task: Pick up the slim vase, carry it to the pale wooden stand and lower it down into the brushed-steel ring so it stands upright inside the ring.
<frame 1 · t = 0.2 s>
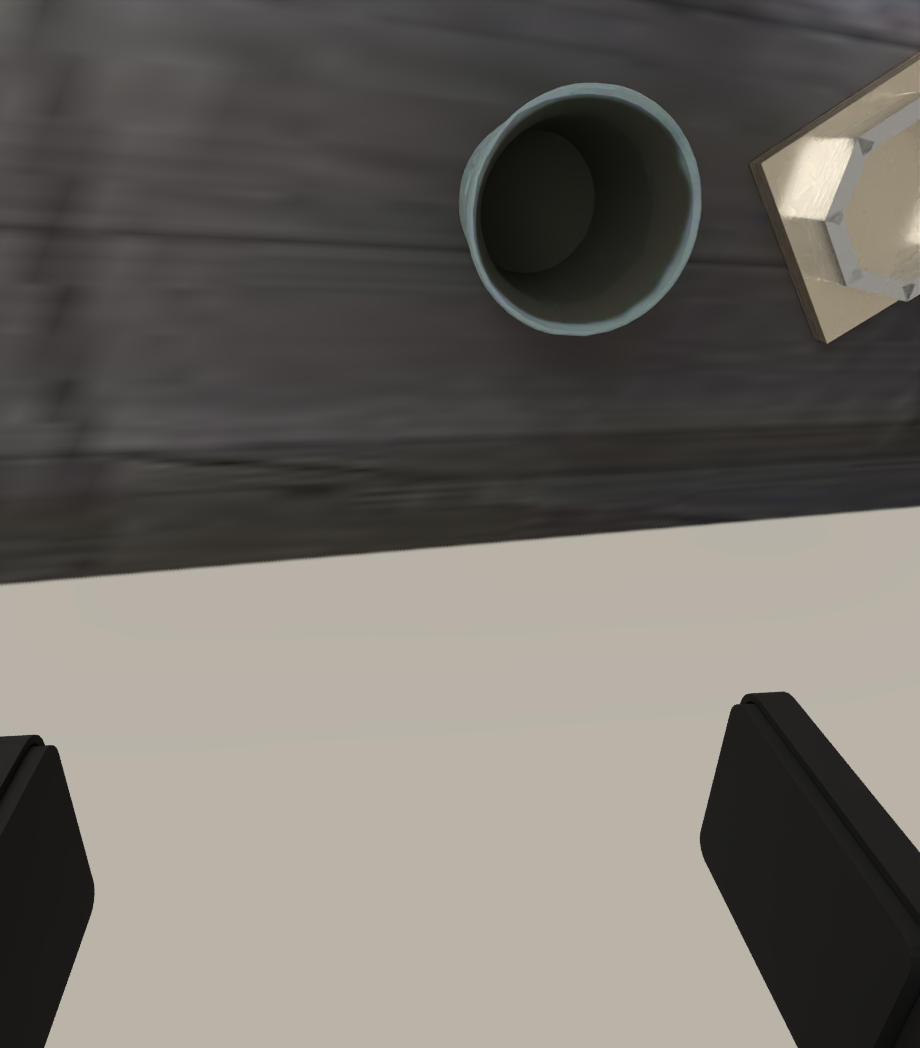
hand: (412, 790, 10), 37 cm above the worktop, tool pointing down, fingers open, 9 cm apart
ring stand: (873, 199, 44), on the worktop
blue-green cup: (527, 204, 42), on the worktop
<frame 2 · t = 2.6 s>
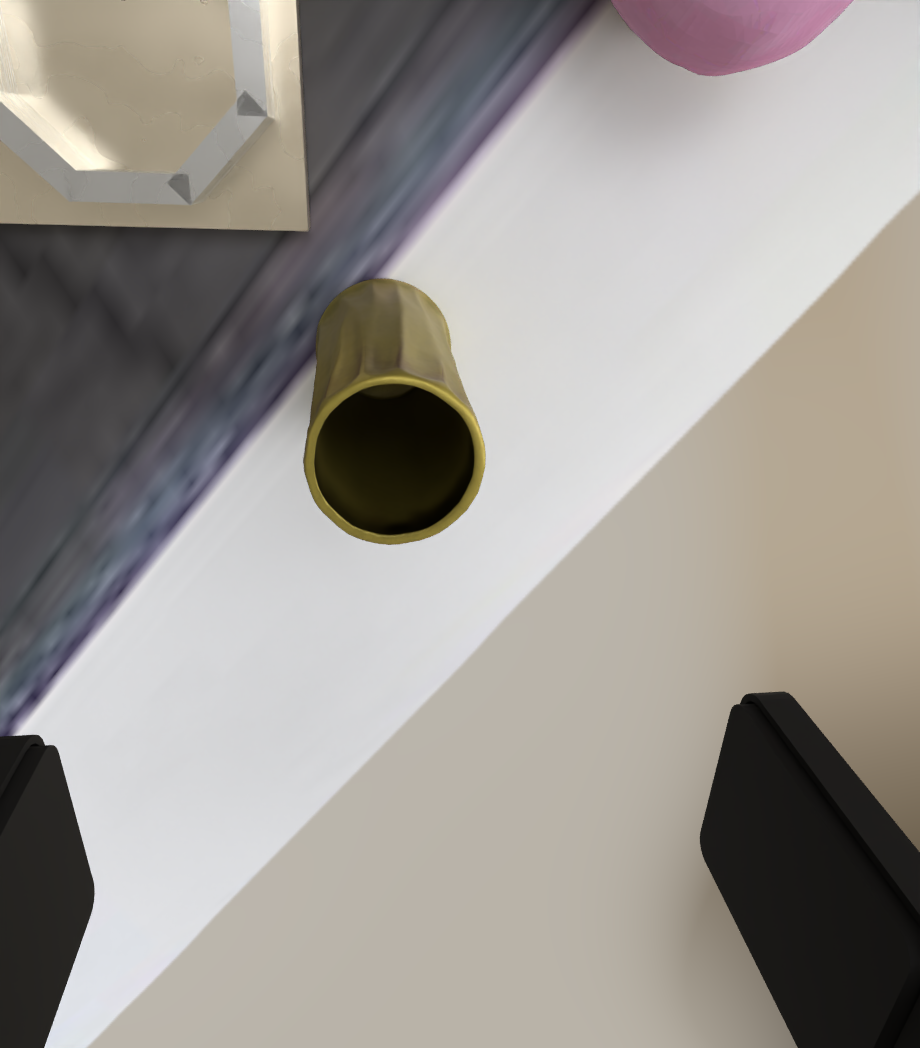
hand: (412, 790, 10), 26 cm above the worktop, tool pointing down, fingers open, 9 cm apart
ring stand: (138, 51, 28), on the worktop
vase: (383, 346, 34), on the worktop
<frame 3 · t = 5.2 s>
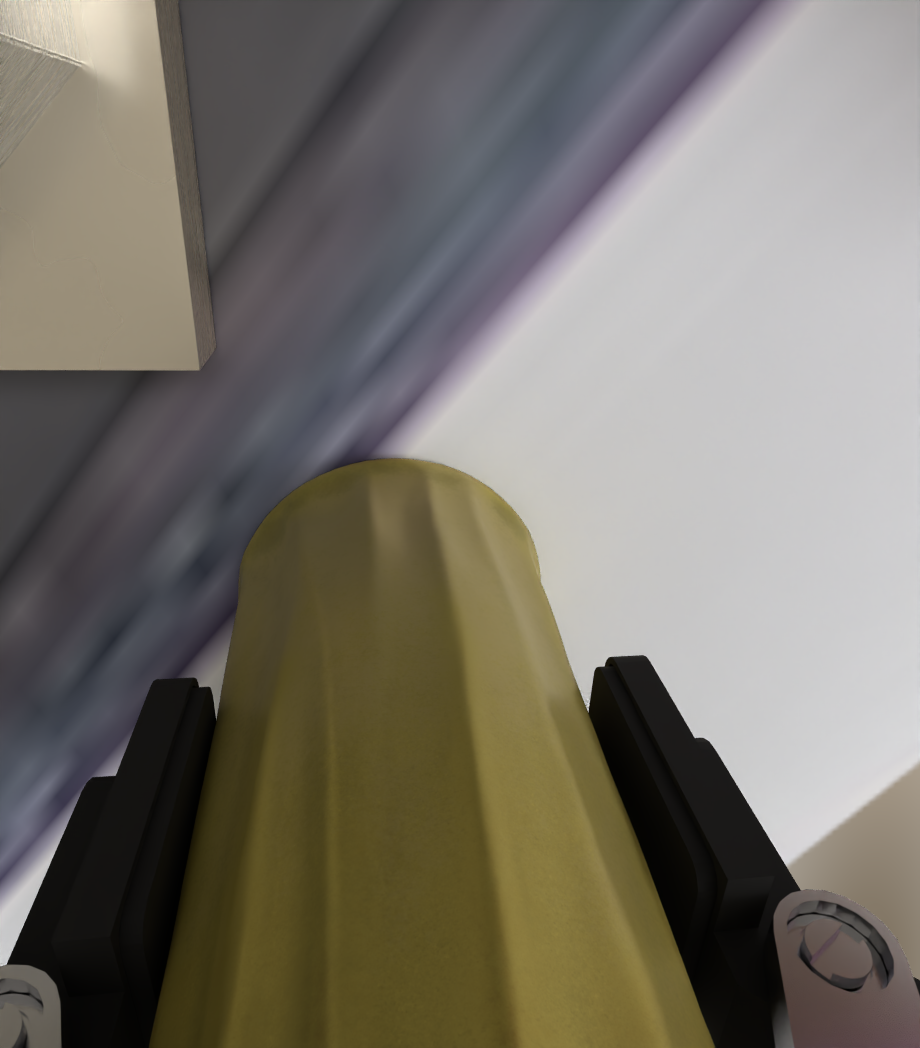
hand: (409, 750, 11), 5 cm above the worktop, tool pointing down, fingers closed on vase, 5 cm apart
vase: (391, 588, 15), on the worktop, touching gripper
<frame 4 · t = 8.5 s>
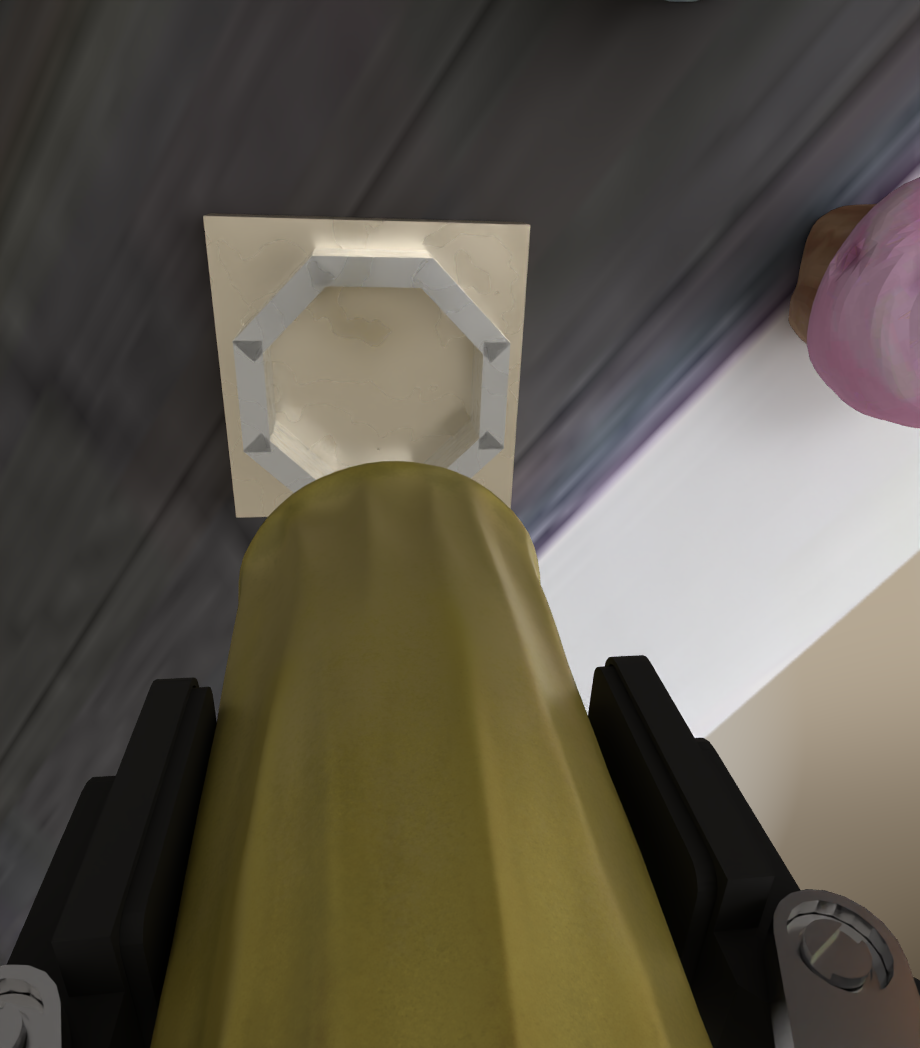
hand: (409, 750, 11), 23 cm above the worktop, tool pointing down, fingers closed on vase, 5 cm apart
ring stand: (373, 370, 31), on the worktop
cupcake: (832, 279, 32), on the worktop
vase: (391, 590, 15), point 18 cm above the worktop, touching gripper
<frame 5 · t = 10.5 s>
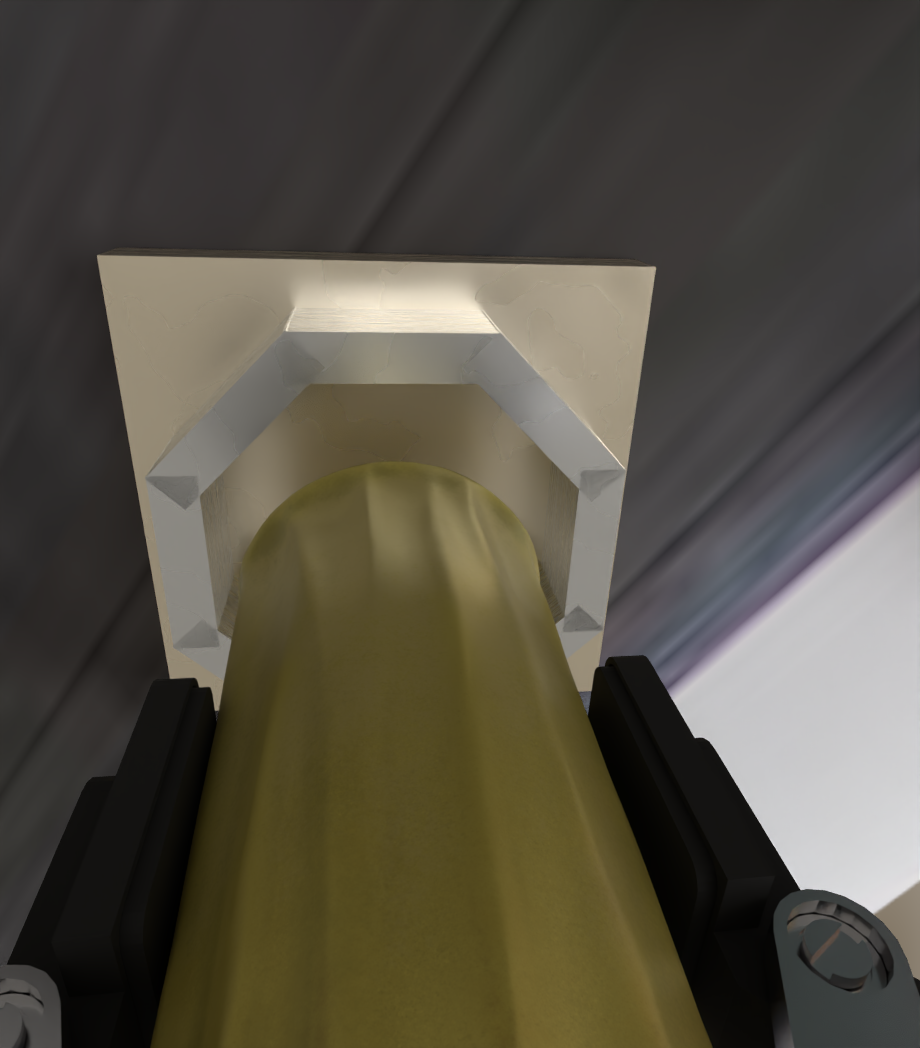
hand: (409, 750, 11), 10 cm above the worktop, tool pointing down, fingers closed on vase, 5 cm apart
ring stand: (389, 488, 20), on the worktop
vase: (391, 590, 15), point 5 cm above the worktop, touching gripper
when the fingers open (7 cm above the worktop, at t = 12.0 s): vase drops 1 cm, resting on ring stand.
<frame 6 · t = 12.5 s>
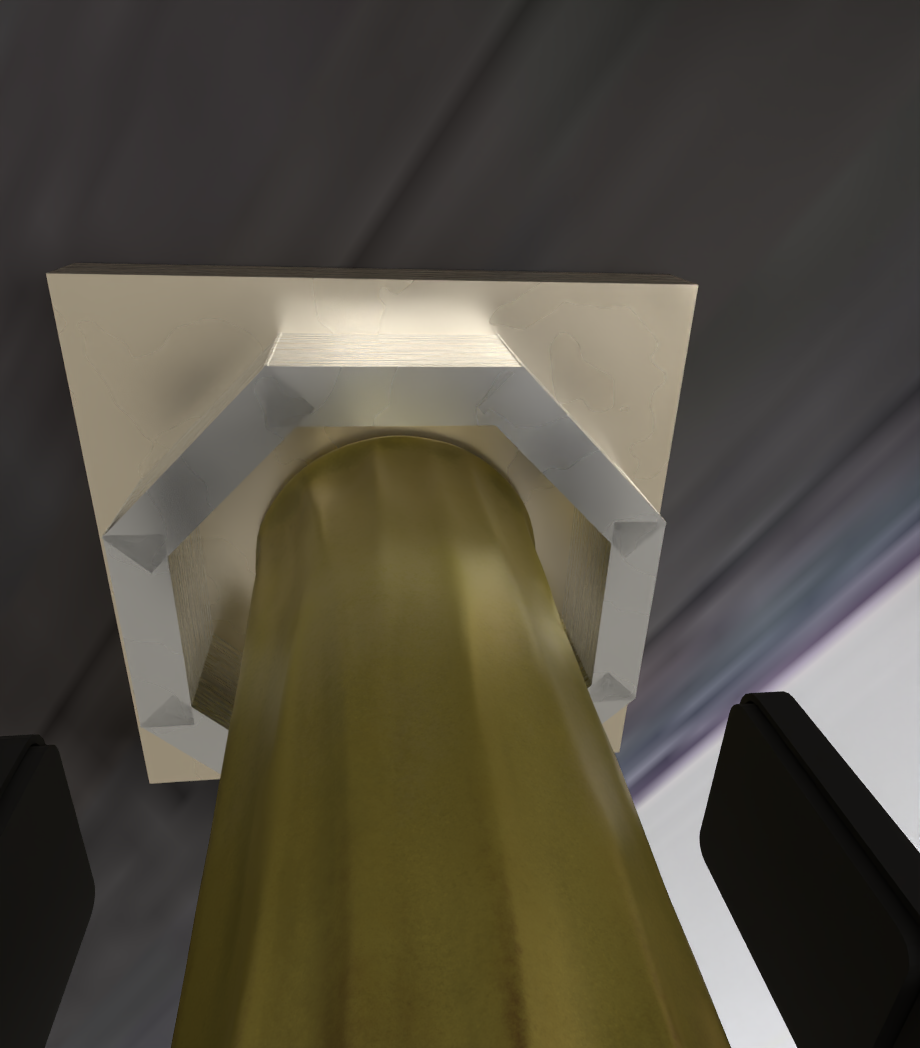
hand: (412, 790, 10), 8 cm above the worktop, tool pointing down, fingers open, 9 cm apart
ring stand: (389, 532, 18), on the worktop
vase: (397, 558, 16), point 1 cm above the worktop, touching ring stand
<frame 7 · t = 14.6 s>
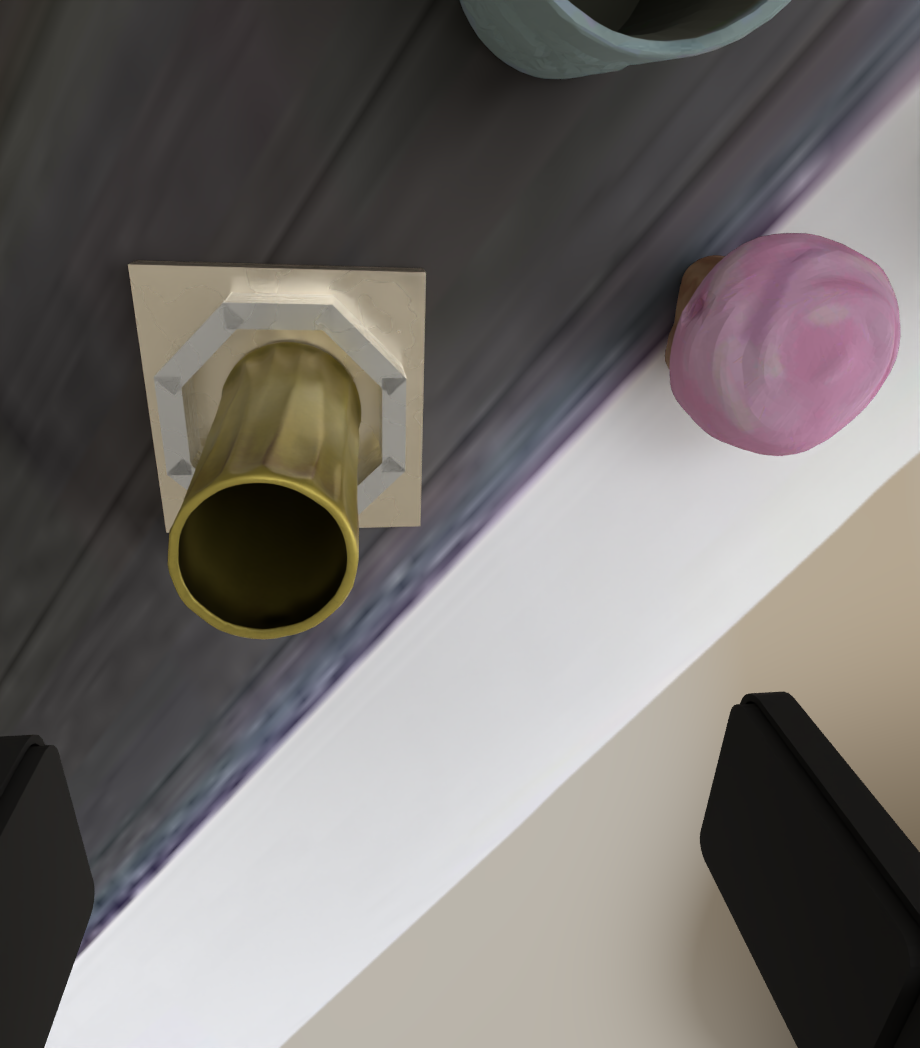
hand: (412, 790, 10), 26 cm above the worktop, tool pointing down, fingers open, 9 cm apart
ring stand: (291, 399, 34), on the worktop
cupcake: (707, 318, 36), on the worktop
vase: (292, 407, 33), point 1 cm above the worktop, touching ring stand
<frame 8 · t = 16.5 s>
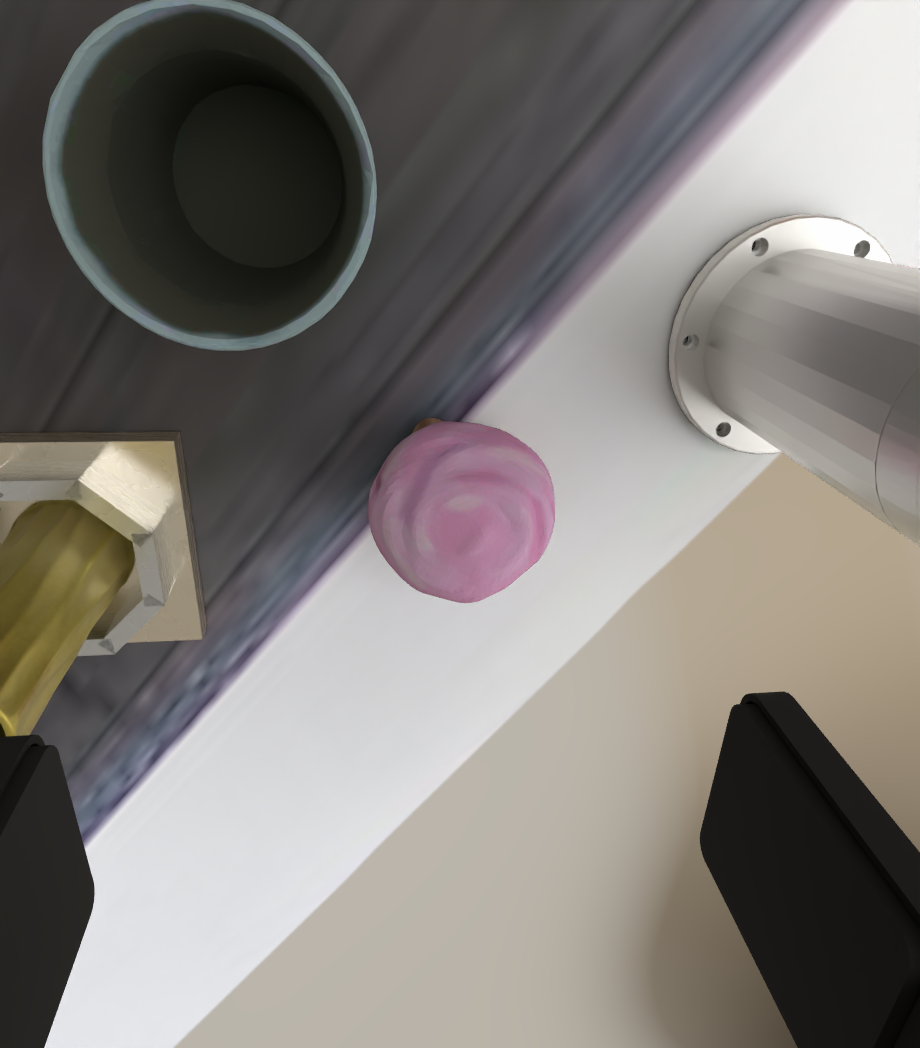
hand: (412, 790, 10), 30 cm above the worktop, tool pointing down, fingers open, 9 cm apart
ring stand: (80, 537, 40), on the worktop
cupcake: (446, 461, 41), on the worktop
blue-green cup: (259, 179, 34), on the worktop
vase: (74, 548, 39), point 1 cm above the worktop, touching ring stand
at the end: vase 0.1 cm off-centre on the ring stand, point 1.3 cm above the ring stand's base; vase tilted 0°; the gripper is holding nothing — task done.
